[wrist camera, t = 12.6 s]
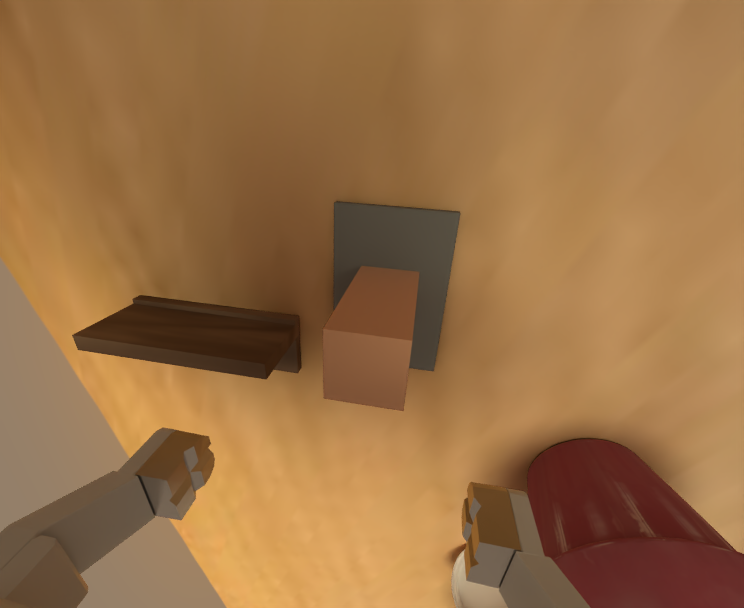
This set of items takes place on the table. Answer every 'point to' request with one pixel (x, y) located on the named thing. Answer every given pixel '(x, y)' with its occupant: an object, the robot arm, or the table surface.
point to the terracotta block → (371, 339)
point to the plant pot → (628, 532)
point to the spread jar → (472, 590)
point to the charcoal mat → (400, 260)
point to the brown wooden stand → (198, 337)
